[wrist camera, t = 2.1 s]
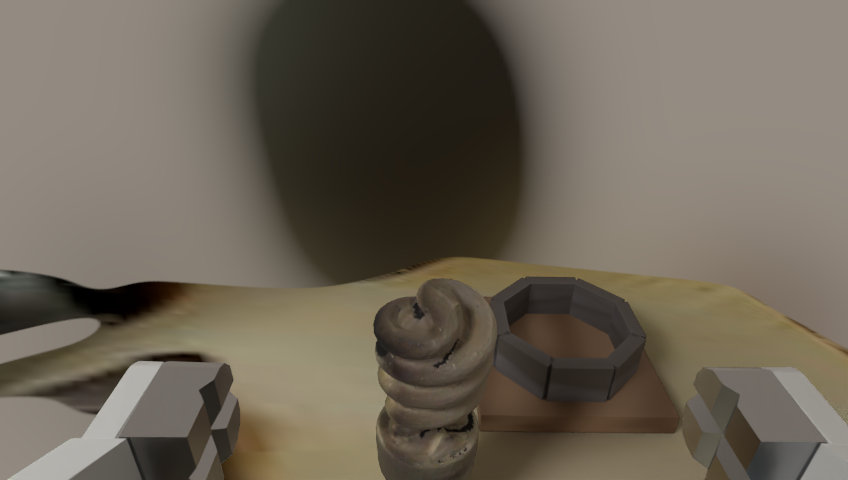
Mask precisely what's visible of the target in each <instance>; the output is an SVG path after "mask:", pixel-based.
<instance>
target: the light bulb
mask: <svg viewBox="0 0 848 480" xmlns="http://www.w3.org/2000/svg"><path fill="white" fill-rule="evenodd" d="M374 334H375V336H376V338H377V342H376V348H375V353H376V359H377V361H378V363H379V365H380V366H379V369H378V380H379V384H380V386H381V388H382V389H383V390H384V391H385V393H386V394H387V398H386V400H385V406H384V408H383V409H382V411H381V412H380V414H379V417H378V419H377V426H376V441H377V449H378V460H379V465H380V468H381V471H382V473H383V475H384V477H385V479H386V480H466V479H467V478H468V476H469V474H470V472H471V470H472V467H473V464H474V459H475V455H476V450H477V441H478V433H479V426H478V422H477V418H476V416H475V413H474V411H473V410H474V409H475V408H476V407H477V405H478V404H479V403H480V401H481V399H482V397H483V395H484V393H485V389H486V386H487V377H488V375H489V373H490V371H491V367H492V363H493V353H494V351H493V350H494V348H495V344H496V339H497V322H496V319H495V316H494V313H493V311H492V309H491V307H490V306H489V304H488V303H487V301H486V300H485V299H484V298H483V297H482V296H481V295H480V294H479V293H478V292H477V291H476V290H475V289H473V288H471V287H470V286H468V285H466V284H464V283H461V282H459V281H455V280H452V279H443V278H440V279H432V280H428V281H426V282H424V283H423V284H422V285H421V286H420V287H419V289H418V293H417V297H403V298H399V299H396V300H394V301H391V302H389V303H387V304H386V305H384V306H383V307H382V308H381V309H380V310H379V311H378V313H377V314H376V317H375V320H374Z"/></svg>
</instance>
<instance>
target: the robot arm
mask: <svg viewBox="0 0 848 480" xmlns="http://www.w3.org/2000/svg"><path fill="white" fill-rule="evenodd" d="M232 382H233V376H232V373H231V369H230V366H229V365H227V364H225V363H202V362H172V361H168V362H152V361H138V362H136V363H134V364H133V365H131V366H130V367H129V368H128V370H127V371H126V373H125V374H124V376H123V377H122V379H121V380H120V382H119V383H118V385H117V386H116V388H115V389H114V391H113V392H112V393H111V395H110V396H109V398H108V399H107V401H106V402H105V404H104V405H103V407H102V408H101V410H100V411H99V413H98V414H97V416H96V417H95V419H94V420H93V422H92V423H91V425H90V426H89V428H88V429H87V430H86V432H85V433H84V435H83V436H82V438H72V439H70V440H68V441H67V442H65V443H64V444H62V445H60V446H59V447H57V448H56V449H54V450H53V451H51V452H49V453H48V454H47V455H45V456H43V457H42V458H40V459H39V460H37V461H35V462H34V463H32V464H31V465H29V466H28V467H26V468H25V469H23V470H21V471H20V472H18V473H17V474H15V475H14V476H12V477H11V478H9V479H7V480H223V479H224V476H223V472H222V468H221V463H223V462H224V461H225V460H226V459H227V458H228V457H230V456H231V455H232V454H233V451H234V448H235V445H236V442H237V439H238V433H239V426H240V408H239V403H238V399H237V398H236V397H235V396H234V395H233V394H232V393H230V392H229V390H230V387H231V385H232ZM694 386H695V388H696V389H697V391H698V393H699V394H697V395H696V396H695V397H693V398H692V399H691V400H689V401H688V402H687V403H686V406H685V409H684V413H683V416H682V422H683V434H684V438H685V441H686V445H687V447H688V449H689V451H690V453H691V455H692V457H693V458H694V459H695V460H697V461H698V462H699V463H701V464H702V465H703V466H704V467H706V468H707V469H708V470H707V474H706V478H705V480H848V425H847V424H846V423H845V421H844V420H843V419H842V418H841V417H840V416H839V414H838V413H837V412H836V411H835V410H834V409H833V408H832V406H831V405H830V404H829V403H828V402H827V401H826V400H825V398H824V397H823V396H822V395H821V394H820V393H819V391H818V390H817V389H816V388H815V387H814V386H813V385H812V383H811V382H810V381H809V380H808V379H807V378H806V377H805V375H804V374H803V373H802V372H800V371H799V370H797V369H795V368H793V367H762V368H758V367H704V368H703V369H702V370H700V371H699V372H698V373H697V376H696V379H695V381H694Z"/></svg>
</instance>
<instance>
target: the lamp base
mask: <svg viewBox="0 0 848 480" xmlns="http://www.w3.org/2000/svg"><path fill="white" fill-rule="evenodd" d="M483 298H484V299H485V300H486V301H487V303H488V304H489V306H490V307H491V309H492V311H493V313H494V316H495V319H496V322H497V339H496V344H495V348H494V350H493V351H494V353H493V363H492V367H491V371H490V373H489V375H488V377H487V386H486V389H485V393H484V395H483V397H482V399H481V401H480V403H479V404H478V405H477V410H478V419H479V428H480V431H527V432H613V433H674V432H675V429H676V426H677V424H678V421H679V418H680V417H679V415H678V413H677V411H676V409H675V408H674V406H673V404H672V402H671V400H670V398H669V396H668V394H667V392H666V390H665V388H664V387H663V385H662V383H661V381H660V379H659V377H658V375H657V373H656V371H655V369H654V368H653V366H652V364H651V362H650V360H649V358H648V356H647V354H646V352H645V350H644V345H645V342H646V335H645V333H644V331H643V329H642V328H641V326H640V324H639V322H638V320H637V318H636V317H635V315H634V313H633V311H632V309H631V307H630V306H629V304H628V302H624V299H622V298H620V297H618V296H616V295H614V294H611V293H609V292H607V291H605V290H603V289H601V288H598V287H596V286H594V285H592V284H590V283H588V282H586V281H583V280H581V279H579V278H578V279H577V280H576V279H575V277H526V278H525V279H524V278H521V279H519V280H518V281H516V282H515V283H513V284H512V285H510V286H509V287H507V288H506V289H504V290H502V291H501V292H499V293H498V294H496V295H495V296H493V297H483Z"/></svg>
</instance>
